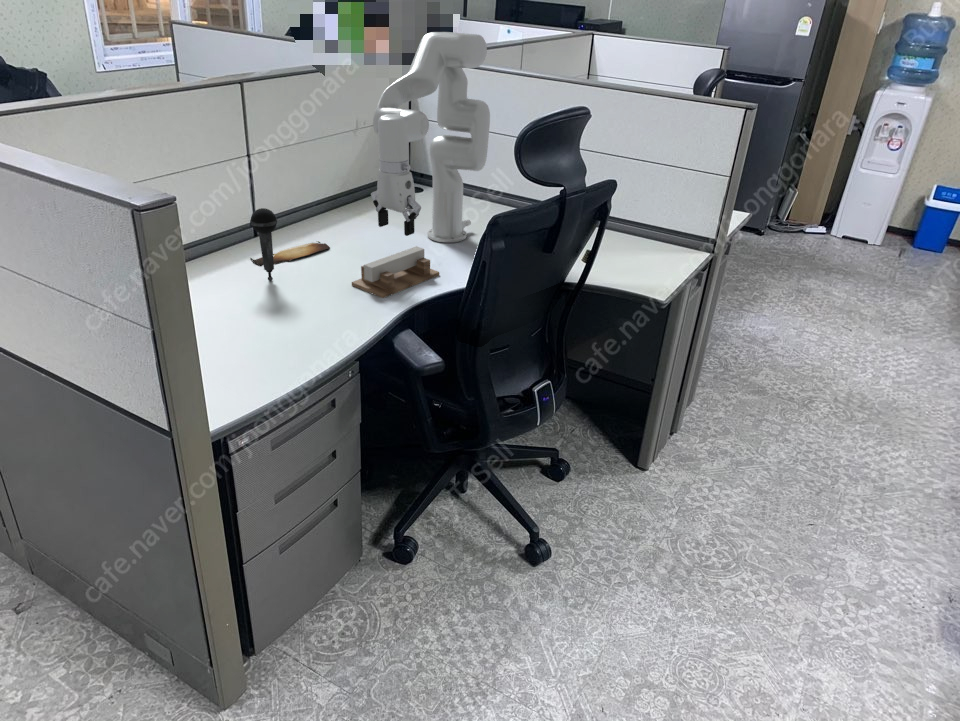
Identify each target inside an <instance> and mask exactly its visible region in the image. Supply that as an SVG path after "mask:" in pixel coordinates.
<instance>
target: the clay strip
mask: <svg viewBox="0 0 960 721" xmlns="http://www.w3.org/2000/svg"><path fill="white" fill-rule="evenodd" d="M421 258H425V248H423V247H420V246H417V245H416V246H414V247H411V248H408V249H405V250H402V251H399V252H396V253H393V254H391V255H388V256H385V257H383V258H380V259H377V260H374V261H371V262H368V263H365V264H363V266H364V279H366V280H368V281H371V282H374V281H377V280H379V279H380V274H381V273H383V272H386V271H388V272H391V273H393V274H395V273H398V272H400V271H403V270H406V269H408V268H411V267H413V266H416V265H417V260H418V259H421Z"/></svg>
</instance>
